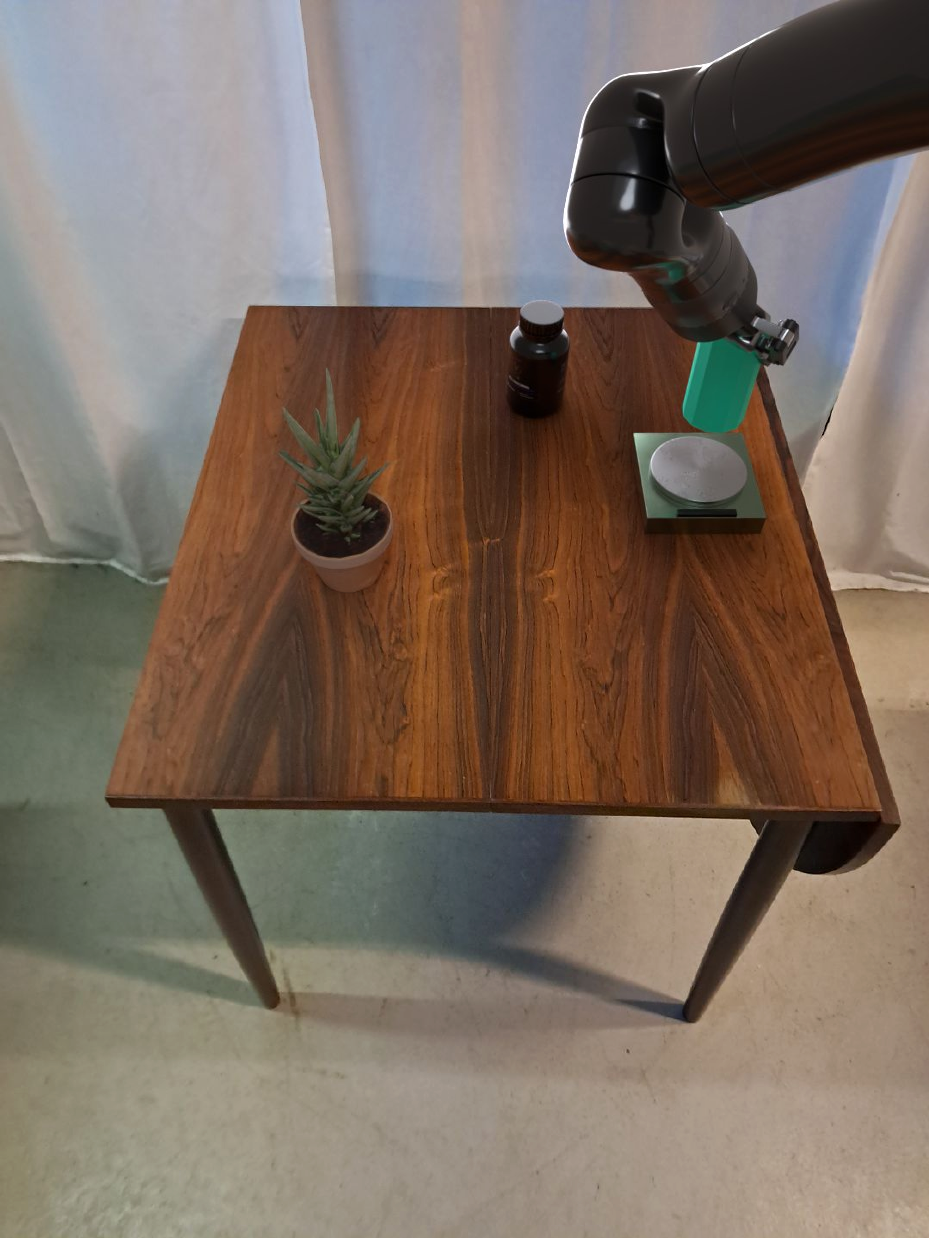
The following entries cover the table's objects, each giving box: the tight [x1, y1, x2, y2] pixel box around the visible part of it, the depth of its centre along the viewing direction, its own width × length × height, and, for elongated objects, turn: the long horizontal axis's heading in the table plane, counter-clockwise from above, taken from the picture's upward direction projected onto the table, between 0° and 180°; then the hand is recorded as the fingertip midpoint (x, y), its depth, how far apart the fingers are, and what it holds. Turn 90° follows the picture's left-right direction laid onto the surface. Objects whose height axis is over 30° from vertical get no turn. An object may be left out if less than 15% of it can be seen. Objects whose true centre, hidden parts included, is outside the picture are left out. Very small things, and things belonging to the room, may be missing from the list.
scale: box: [630, 432, 767, 535], centre depth 94 cm, size 13×12×3 cm
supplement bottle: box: [505, 299, 571, 419], centre depth 100 cm, size 7×7×12 cm
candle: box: [682, 320, 772, 433], centre depth 82 cm, size 6×6×12 cm
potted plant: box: [277, 366, 395, 593], centre depth 79 cm, size 10×10×25 cm
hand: (739, 341), depth 82 cm, fingers closed on candle, 6 cm apart
